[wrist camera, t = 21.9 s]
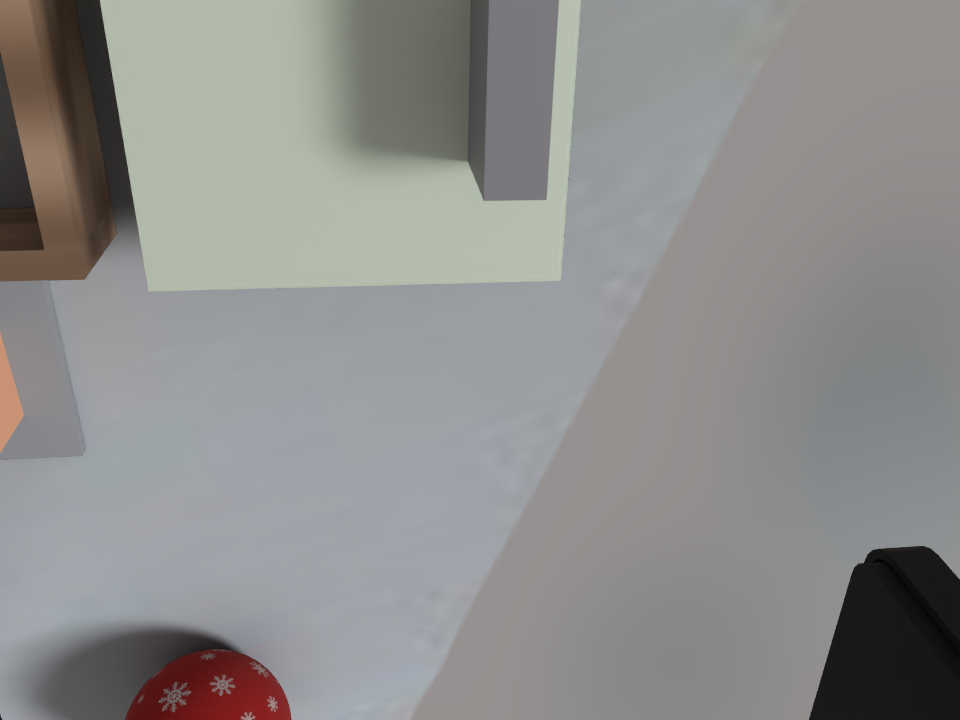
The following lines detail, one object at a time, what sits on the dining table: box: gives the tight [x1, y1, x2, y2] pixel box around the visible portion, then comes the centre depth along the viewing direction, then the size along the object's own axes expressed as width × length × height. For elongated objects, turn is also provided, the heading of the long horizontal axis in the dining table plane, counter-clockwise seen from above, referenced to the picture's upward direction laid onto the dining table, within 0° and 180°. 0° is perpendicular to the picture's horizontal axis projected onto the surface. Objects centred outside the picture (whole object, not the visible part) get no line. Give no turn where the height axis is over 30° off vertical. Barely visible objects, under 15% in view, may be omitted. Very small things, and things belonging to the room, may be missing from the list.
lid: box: [100, 0, 581, 291], centre depth 28 cm, size 15×15×6 cm
